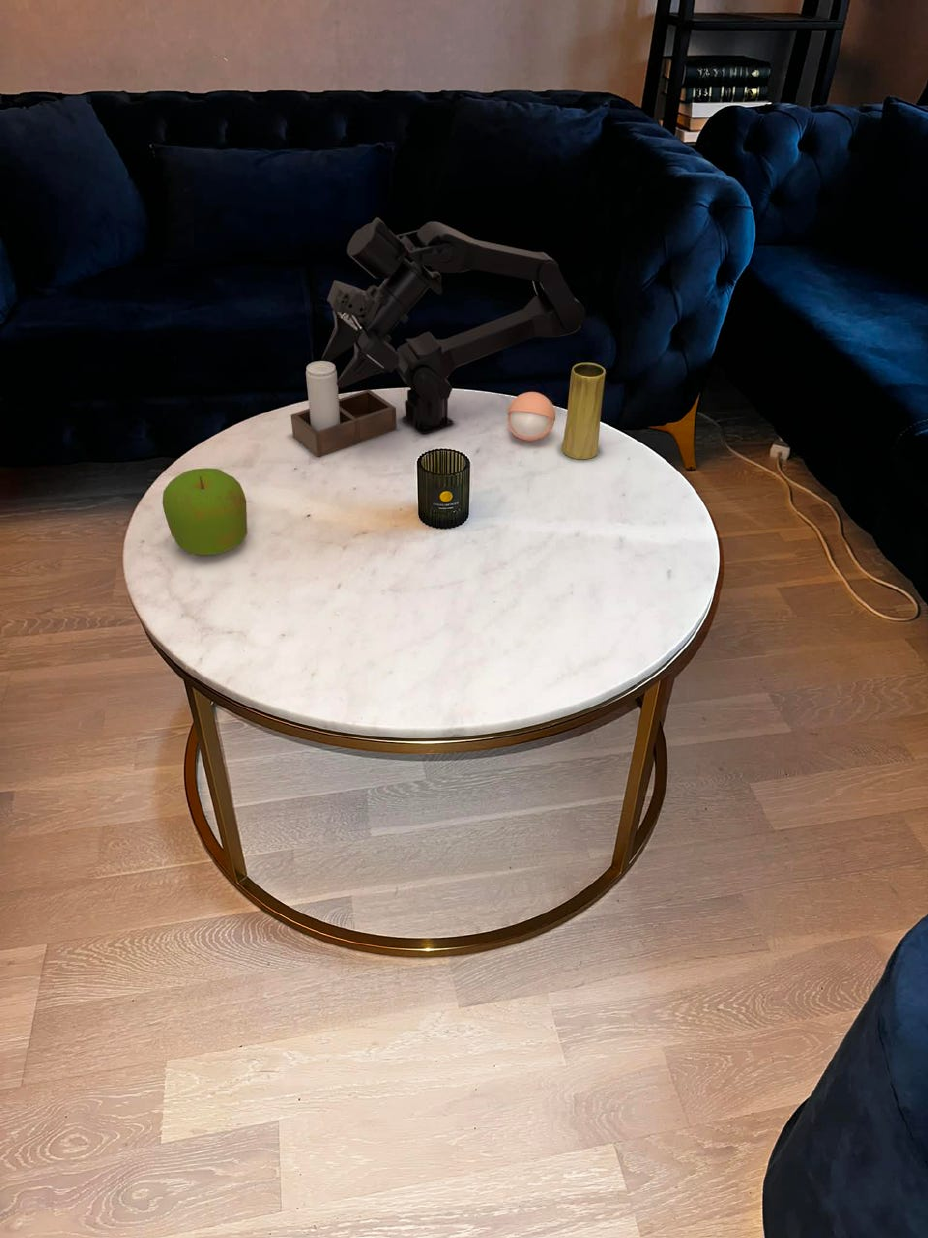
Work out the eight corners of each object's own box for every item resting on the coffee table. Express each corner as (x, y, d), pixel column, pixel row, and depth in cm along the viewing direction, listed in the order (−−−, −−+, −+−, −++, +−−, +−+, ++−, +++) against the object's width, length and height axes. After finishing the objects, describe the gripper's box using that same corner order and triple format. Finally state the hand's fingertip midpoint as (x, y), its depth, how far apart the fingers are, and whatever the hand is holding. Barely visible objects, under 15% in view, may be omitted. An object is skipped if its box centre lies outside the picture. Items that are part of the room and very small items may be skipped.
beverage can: (327, 424, 158) (321, 357, 150) (347, 434, 156) (342, 366, 148) (306, 435, 155) (299, 367, 147) (326, 445, 153) (320, 377, 145)
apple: (156, 548, 132) (140, 482, 125) (209, 511, 139) (196, 447, 132) (216, 574, 128) (202, 507, 121) (267, 535, 135) (258, 470, 128)
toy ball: (501, 444, 156) (503, 401, 151) (511, 422, 161) (514, 380, 156) (548, 452, 154) (552, 408, 149) (557, 430, 160) (561, 387, 155)
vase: (556, 455, 154) (564, 374, 144) (567, 437, 158) (575, 358, 149) (592, 463, 152) (602, 381, 143) (602, 445, 156) (613, 365, 147)
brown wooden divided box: (370, 410, 164) (369, 389, 161) (396, 429, 159) (395, 407, 156) (292, 436, 156) (290, 414, 154) (317, 457, 152) (315, 434, 149)
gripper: (341, 242, 146) (279, 319, 150) (375, 286, 133) (306, 370, 137) (392, 286, 153) (330, 359, 157) (428, 332, 140) (361, 410, 144)
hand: (331, 373), depth 149 cm, fingers open, 9 cm apart
